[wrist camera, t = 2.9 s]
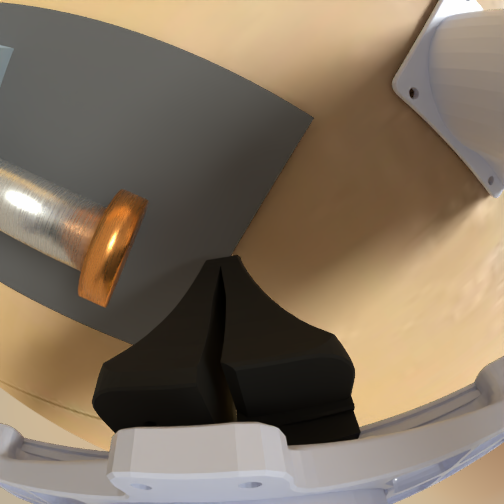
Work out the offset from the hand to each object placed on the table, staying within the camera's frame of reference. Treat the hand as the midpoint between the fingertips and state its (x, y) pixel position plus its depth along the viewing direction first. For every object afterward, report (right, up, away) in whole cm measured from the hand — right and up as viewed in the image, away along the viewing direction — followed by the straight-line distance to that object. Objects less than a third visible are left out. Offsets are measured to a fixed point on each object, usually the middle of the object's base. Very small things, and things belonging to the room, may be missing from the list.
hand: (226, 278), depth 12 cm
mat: (-9, +5, -2) cm, 10 cm away
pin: (-8, +4, -2) cm, 9 cm away
